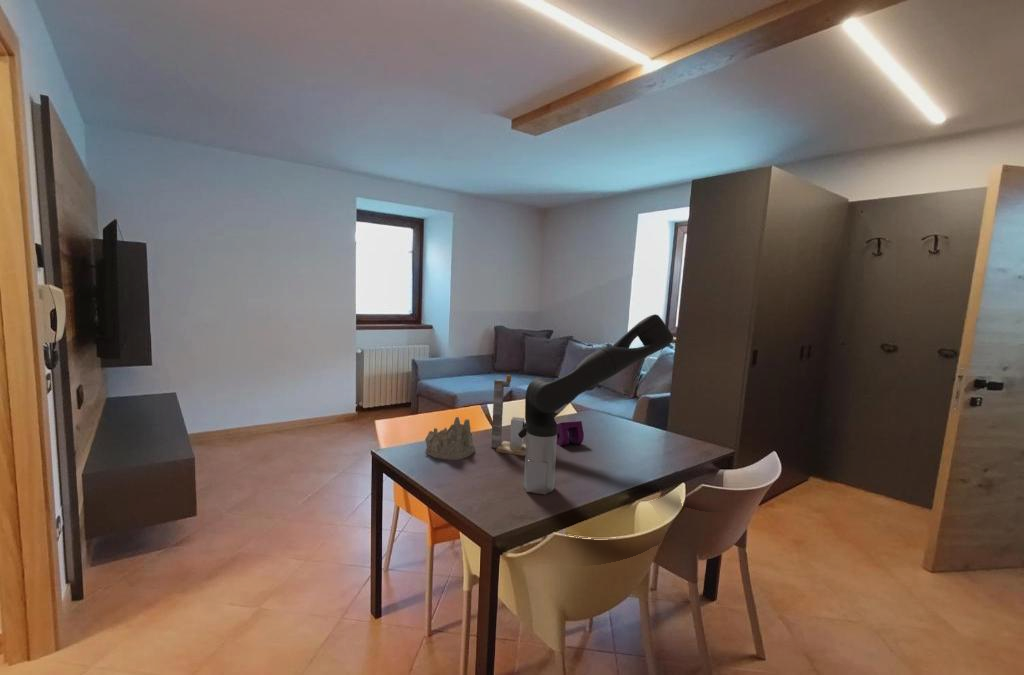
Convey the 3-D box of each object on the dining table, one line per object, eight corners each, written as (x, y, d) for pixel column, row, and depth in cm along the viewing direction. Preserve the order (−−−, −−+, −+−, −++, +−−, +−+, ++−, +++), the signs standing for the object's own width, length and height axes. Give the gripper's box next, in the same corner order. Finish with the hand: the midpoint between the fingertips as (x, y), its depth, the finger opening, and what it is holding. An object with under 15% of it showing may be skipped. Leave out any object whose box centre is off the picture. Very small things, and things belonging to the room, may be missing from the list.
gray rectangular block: (523, 446, 169) (524, 418, 168) (521, 449, 165) (522, 421, 164) (511, 444, 170) (513, 417, 169) (509, 448, 165) (510, 420, 164)
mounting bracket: (544, 450, 186) (564, 444, 171) (541, 430, 189) (560, 422, 173) (564, 448, 190) (585, 442, 174) (560, 428, 193) (581, 421, 177)
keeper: (524, 455, 161) (528, 379, 159) (488, 450, 164) (491, 376, 162) (530, 446, 172) (534, 375, 169) (496, 441, 175) (499, 372, 173)
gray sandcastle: (481, 450, 164) (480, 411, 162) (451, 464, 150) (450, 421, 149) (450, 444, 172) (448, 406, 171) (419, 456, 159) (417, 416, 158)
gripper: (558, 417, 157) (525, 446, 160) (560, 408, 171) (530, 435, 174) (544, 402, 157) (511, 431, 160) (547, 394, 171) (517, 421, 174)
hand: (521, 433), depth 167 cm, fingers open, 8 cm apart
